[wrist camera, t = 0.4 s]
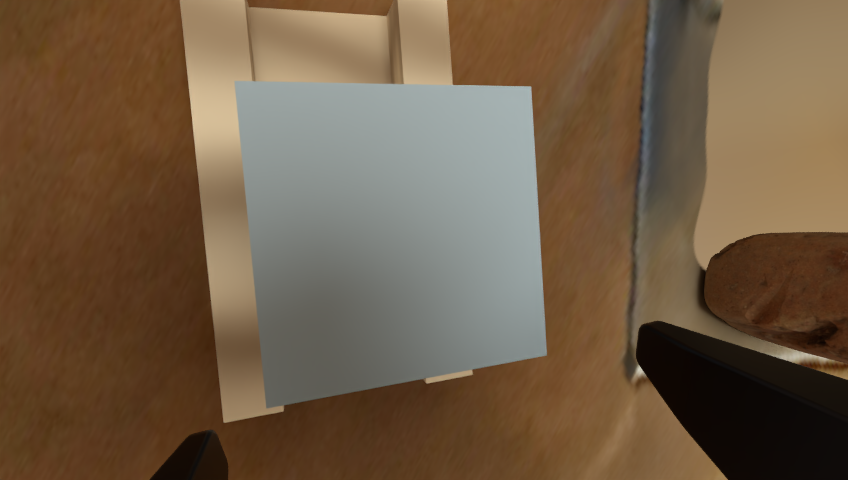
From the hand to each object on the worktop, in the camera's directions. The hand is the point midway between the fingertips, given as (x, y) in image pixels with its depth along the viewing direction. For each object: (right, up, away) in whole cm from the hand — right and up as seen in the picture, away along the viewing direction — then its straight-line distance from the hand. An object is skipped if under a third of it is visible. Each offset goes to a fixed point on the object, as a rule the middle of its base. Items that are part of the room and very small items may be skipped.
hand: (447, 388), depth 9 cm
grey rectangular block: (-5, +4, +14) cm, 15 cm away
